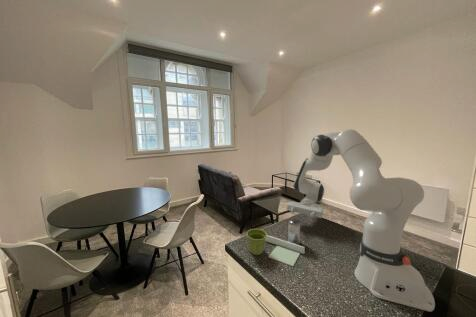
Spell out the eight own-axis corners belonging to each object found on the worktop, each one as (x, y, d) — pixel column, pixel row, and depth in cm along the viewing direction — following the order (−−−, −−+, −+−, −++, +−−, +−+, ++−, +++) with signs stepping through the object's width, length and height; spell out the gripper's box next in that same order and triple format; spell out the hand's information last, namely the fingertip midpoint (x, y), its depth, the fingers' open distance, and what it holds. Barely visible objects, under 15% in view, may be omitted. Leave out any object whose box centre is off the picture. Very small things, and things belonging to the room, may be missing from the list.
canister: (300, 241, 99) (301, 220, 98) (297, 246, 94) (298, 225, 93) (289, 237, 102) (290, 218, 101) (285, 243, 97) (286, 222, 96)
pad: (299, 254, 89) (300, 253, 89) (292, 266, 80) (293, 265, 80) (277, 246, 95) (277, 245, 95) (268, 257, 86) (268, 256, 86)
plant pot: (266, 246, 95) (266, 229, 94) (267, 258, 86) (267, 240, 84) (247, 244, 96) (247, 228, 95) (245, 257, 87) (246, 238, 85)
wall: (304, 253, 89) (304, 247, 89) (303, 254, 89) (304, 247, 88) (264, 239, 100) (264, 234, 100) (264, 240, 100) (264, 235, 99)
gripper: (290, 197, 124) (282, 204, 112) (325, 204, 113) (320, 213, 101) (290, 207, 125) (282, 214, 113) (324, 214, 114) (319, 224, 102)
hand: (300, 214), depth 107 cm, fingers open, 8 cm apart
